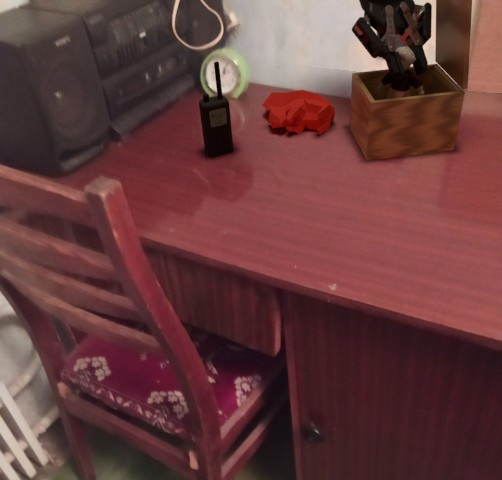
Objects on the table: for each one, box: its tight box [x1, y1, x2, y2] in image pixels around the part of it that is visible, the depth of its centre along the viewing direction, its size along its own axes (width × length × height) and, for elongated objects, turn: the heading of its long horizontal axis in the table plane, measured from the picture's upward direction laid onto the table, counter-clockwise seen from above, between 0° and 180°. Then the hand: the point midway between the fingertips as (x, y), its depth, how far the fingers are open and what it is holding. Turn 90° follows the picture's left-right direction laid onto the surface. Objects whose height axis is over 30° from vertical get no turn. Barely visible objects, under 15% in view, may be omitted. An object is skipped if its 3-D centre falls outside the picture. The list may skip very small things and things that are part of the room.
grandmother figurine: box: [378, 45, 425, 99], centre depth 95 cm, size 8×4×13 cm, turn 73°
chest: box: [349, 63, 465, 161], centre depth 98 cm, size 15×13×10 cm
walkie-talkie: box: [198, 61, 235, 158], centre depth 97 cm, size 5×3×15 cm
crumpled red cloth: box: [262, 89, 336, 135], centre depth 107 cm, size 12×15×5 cm
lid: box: [434, 0, 473, 91], centre depth 89 cm, size 15×13×5 cm
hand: (411, 74), depth 92 cm, fingers closed on grandmother figurine, 3 cm apart
